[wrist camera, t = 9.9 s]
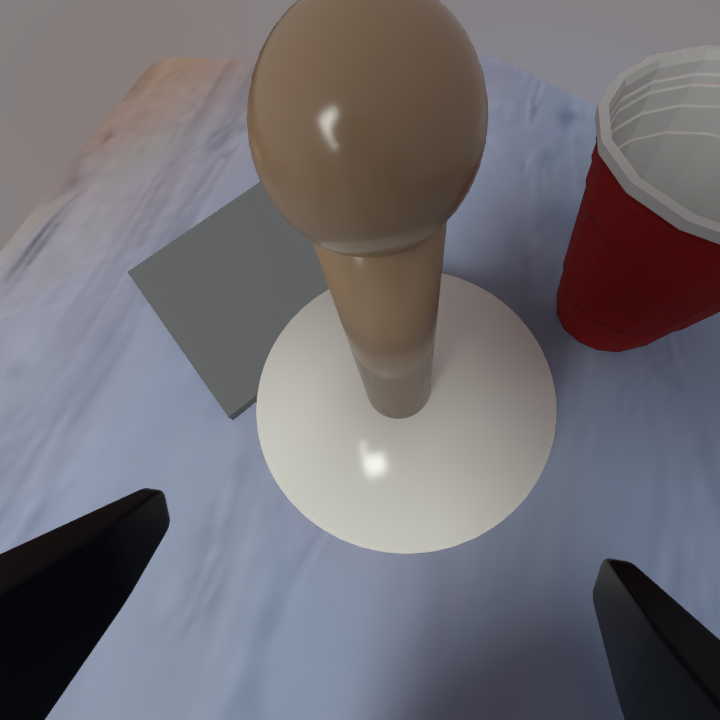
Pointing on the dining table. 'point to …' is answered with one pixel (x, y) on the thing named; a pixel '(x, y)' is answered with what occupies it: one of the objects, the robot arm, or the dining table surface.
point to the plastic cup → (649, 207)
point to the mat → (232, 292)
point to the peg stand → (389, 285)
